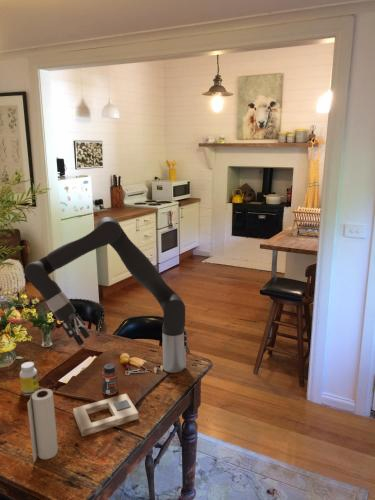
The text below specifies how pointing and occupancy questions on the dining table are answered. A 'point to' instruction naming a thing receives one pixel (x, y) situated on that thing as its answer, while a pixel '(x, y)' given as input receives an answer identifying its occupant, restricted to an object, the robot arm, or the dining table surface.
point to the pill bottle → (28, 378)
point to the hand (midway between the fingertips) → (84, 340)
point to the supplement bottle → (109, 379)
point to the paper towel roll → (42, 424)
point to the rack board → (120, 413)
